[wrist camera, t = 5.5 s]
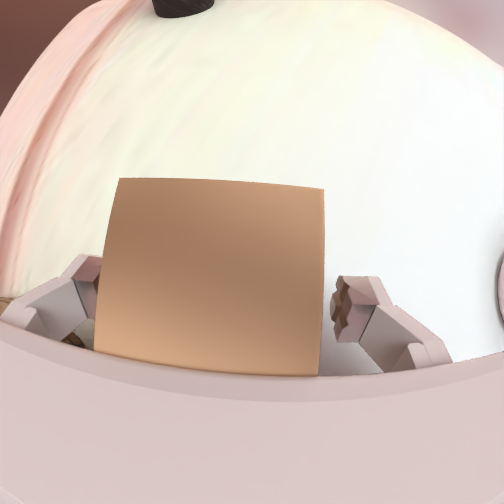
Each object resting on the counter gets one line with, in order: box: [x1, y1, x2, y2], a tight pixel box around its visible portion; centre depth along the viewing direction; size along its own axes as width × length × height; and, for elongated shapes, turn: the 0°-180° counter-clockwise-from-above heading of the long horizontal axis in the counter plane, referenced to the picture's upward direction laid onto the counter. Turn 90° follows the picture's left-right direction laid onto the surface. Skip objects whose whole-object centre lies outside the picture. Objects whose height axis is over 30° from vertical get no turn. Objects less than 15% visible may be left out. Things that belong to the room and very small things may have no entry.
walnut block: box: [94, 178, 325, 377], centre depth 10 cm, size 5×5×10 cm
